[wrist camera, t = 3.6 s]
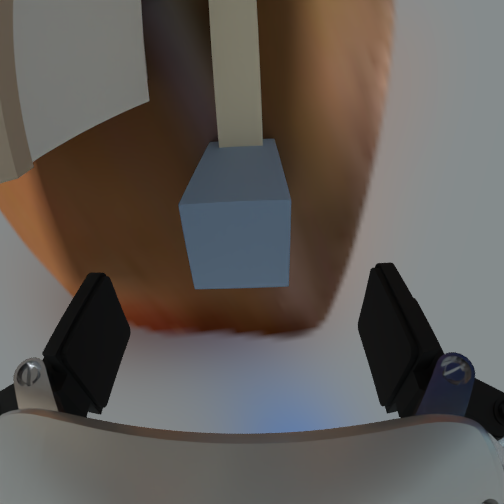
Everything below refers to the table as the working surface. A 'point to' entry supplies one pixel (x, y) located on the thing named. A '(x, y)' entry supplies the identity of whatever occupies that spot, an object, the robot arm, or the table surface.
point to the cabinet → (65, 73)
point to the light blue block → (237, 171)
